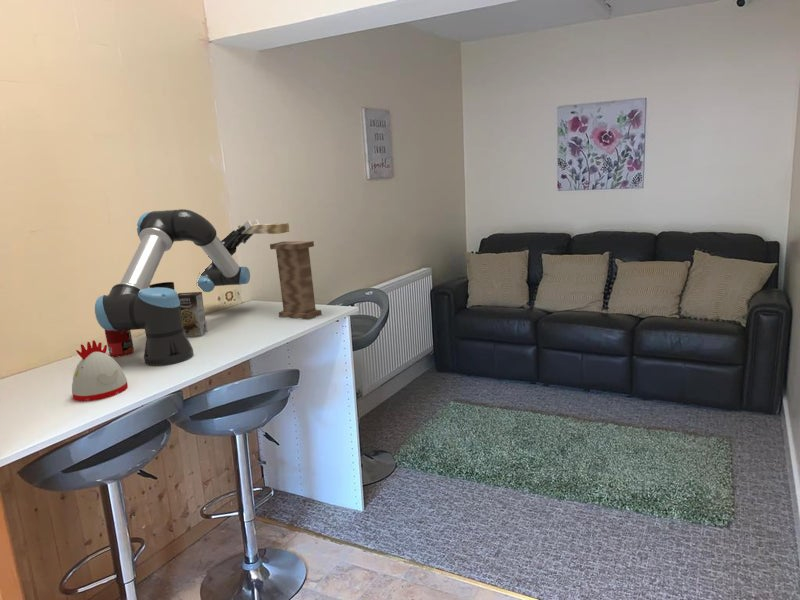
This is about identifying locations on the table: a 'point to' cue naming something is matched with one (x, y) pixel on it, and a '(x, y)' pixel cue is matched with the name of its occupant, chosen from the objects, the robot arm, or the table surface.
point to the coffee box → (193, 314)
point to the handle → (267, 228)
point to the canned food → (119, 342)
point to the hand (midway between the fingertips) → (253, 222)
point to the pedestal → (296, 279)
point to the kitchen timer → (97, 375)
